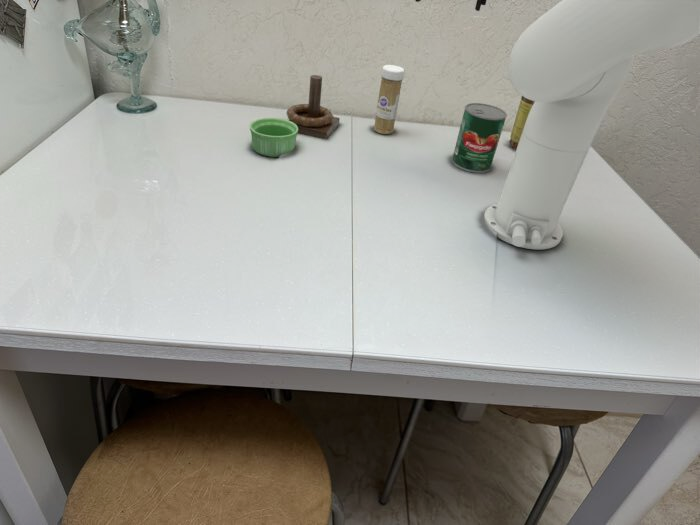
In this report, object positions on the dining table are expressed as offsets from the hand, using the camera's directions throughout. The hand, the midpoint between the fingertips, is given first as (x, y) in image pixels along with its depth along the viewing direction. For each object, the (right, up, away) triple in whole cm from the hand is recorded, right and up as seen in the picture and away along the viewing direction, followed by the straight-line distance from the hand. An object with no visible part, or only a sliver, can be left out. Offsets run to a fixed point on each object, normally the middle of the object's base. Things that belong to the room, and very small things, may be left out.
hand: (447, 5), depth 80 cm
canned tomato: (+8, -22, +19) cm, 30 cm away
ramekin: (-31, -20, +15) cm, 39 cm away
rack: (-24, -13, +25) cm, 37 cm away
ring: (-24, -11, +24) cm, 36 cm away
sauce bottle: (+22, -16, +29) cm, 40 cm away
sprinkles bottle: (-9, -13, +28) cm, 32 cm away
